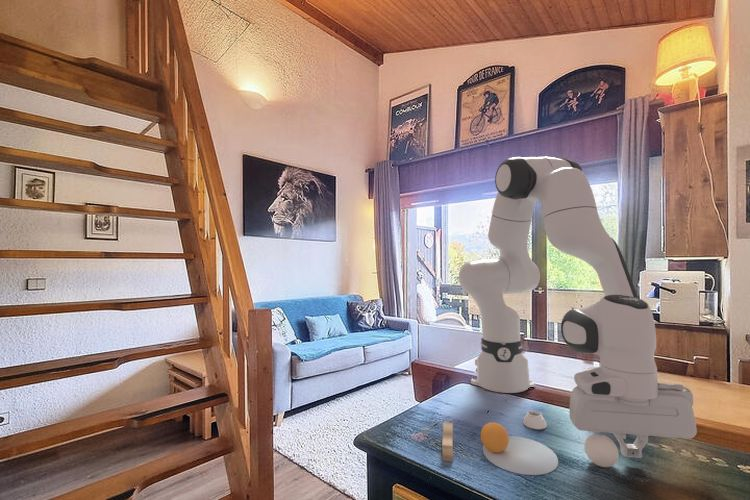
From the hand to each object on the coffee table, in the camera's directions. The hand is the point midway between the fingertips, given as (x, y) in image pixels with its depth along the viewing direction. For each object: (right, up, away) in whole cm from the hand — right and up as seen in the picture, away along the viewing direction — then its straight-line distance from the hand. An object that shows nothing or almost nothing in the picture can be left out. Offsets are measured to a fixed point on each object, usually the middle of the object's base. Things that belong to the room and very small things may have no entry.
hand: (631, 455), depth 68 cm
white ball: (-6, +1, 0) cm, 6 cm away
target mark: (-20, -2, +4) cm, 20 cm away
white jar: (-11, -3, +17) cm, 20 cm away
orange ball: (-24, 0, +6) cm, 25 cm away
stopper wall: (-33, -3, +7) cm, 34 cm away
